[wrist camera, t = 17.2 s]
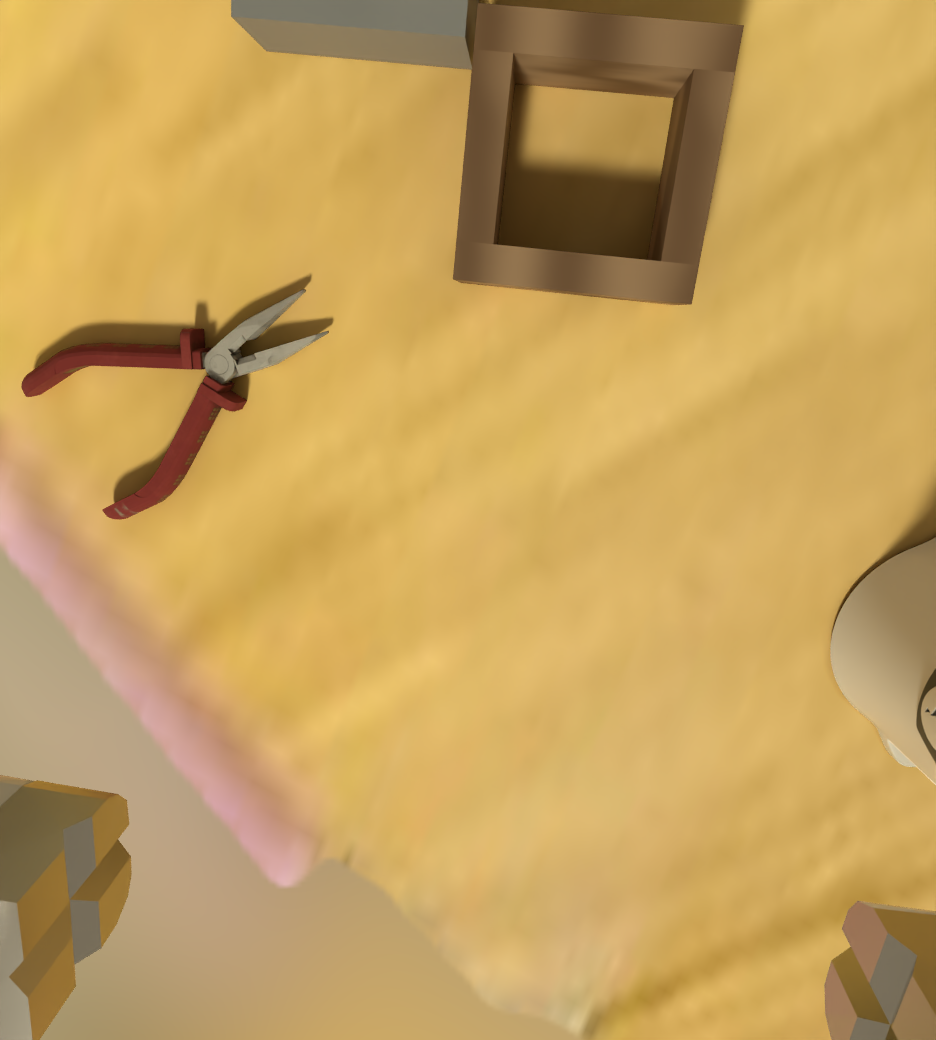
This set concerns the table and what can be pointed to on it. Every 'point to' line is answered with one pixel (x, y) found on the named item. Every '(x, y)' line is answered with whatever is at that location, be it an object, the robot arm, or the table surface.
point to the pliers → (207, 402)
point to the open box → (609, 68)
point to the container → (365, 29)
